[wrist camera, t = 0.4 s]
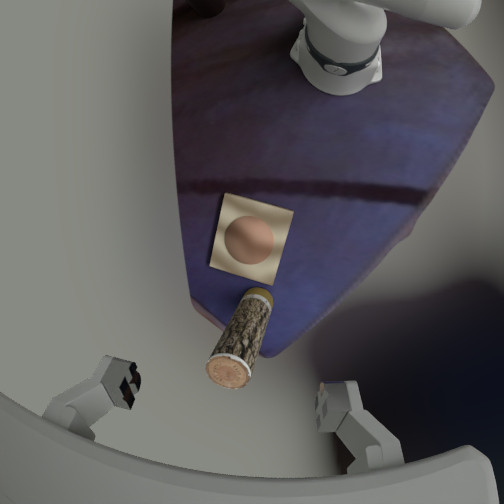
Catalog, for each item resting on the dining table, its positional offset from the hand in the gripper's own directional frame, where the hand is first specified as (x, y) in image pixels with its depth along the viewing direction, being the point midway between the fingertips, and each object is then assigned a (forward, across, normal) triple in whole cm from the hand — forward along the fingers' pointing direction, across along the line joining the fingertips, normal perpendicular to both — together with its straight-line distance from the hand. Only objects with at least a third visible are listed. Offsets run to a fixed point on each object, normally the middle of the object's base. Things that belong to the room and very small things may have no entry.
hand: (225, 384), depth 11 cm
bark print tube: (+44, -1, +27) cm, 51 cm away
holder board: (+46, +2, +13) cm, 48 cm away
